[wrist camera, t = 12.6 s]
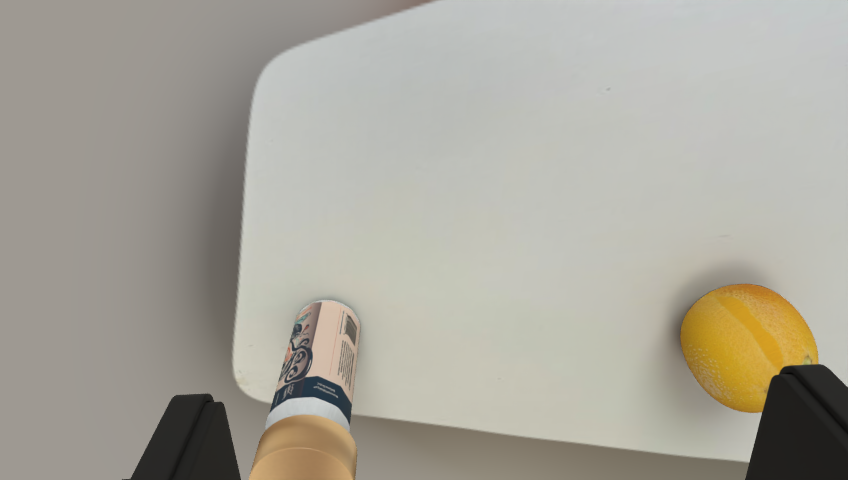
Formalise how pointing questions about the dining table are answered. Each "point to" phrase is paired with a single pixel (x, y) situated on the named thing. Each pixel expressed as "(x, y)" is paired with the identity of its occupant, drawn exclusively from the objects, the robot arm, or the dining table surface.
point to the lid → (305, 451)
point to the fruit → (744, 343)
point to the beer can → (319, 365)
